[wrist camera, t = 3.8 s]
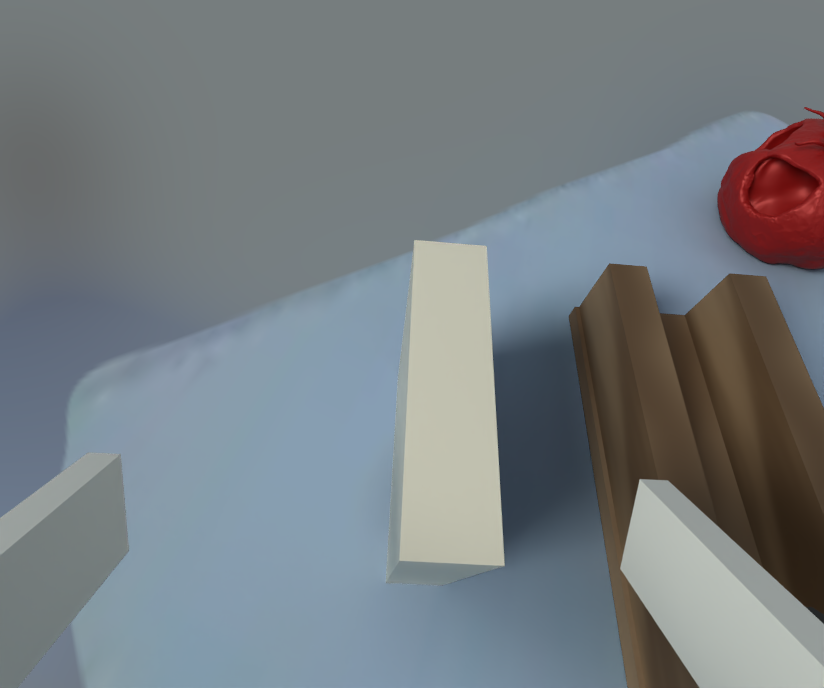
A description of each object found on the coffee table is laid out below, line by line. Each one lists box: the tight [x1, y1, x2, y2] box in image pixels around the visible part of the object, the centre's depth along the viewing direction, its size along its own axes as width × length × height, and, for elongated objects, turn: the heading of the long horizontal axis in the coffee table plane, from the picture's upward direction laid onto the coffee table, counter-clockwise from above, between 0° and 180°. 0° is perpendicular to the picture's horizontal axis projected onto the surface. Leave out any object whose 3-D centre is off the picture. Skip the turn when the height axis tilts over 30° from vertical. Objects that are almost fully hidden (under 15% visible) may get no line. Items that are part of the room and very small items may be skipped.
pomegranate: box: [718, 107, 824, 269], centre depth 30 cm, size 10×10×9 cm
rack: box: [569, 264, 824, 688], centre depth 21 cm, size 9×20×5 cm, turn 178°
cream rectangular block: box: [386, 240, 505, 586], centre depth 18 cm, size 2×10×11 cm, turn 178°
